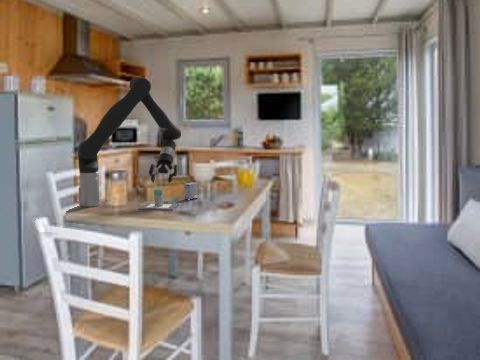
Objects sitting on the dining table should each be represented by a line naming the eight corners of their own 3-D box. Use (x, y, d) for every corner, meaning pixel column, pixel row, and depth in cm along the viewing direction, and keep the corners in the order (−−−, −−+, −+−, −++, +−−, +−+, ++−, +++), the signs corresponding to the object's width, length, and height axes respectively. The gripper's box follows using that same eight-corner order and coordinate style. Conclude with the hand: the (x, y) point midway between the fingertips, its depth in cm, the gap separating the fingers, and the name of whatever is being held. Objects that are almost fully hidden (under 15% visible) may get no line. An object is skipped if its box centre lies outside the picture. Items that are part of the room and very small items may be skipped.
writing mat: (138, 209, 226) (138, 208, 226) (146, 204, 238) (146, 202, 238) (172, 210, 224) (172, 208, 224) (178, 205, 237) (178, 203, 237)
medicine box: (193, 197, 259) (193, 182, 258) (199, 198, 257) (199, 183, 255) (183, 199, 253) (183, 184, 252) (190, 200, 250) (189, 184, 249)
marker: (153, 206, 229) (153, 190, 228) (155, 204, 233) (155, 189, 232) (161, 206, 229) (161, 190, 228) (163, 204, 233) (163, 189, 232)
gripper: (151, 152, 241) (145, 177, 231) (178, 152, 239) (173, 177, 230) (154, 161, 247) (149, 185, 237) (180, 161, 245) (176, 186, 236)
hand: (160, 181), depth 234 cm, fingers open, 8 cm apart
